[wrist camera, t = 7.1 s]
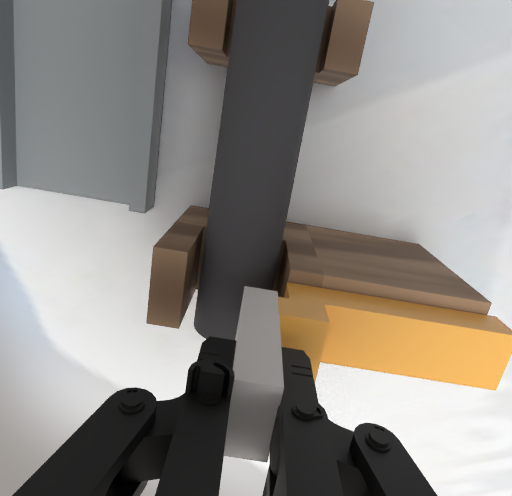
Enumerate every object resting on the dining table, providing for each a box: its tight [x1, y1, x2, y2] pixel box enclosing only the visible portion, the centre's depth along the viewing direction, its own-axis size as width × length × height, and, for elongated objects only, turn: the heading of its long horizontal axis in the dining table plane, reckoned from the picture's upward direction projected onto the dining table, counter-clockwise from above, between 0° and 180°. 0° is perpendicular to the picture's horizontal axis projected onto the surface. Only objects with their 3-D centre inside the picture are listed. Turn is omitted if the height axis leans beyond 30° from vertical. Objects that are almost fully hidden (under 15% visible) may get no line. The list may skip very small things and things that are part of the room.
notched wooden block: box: [147, 206, 491, 329], centre depth 23 cm, size 4×16×9 cm, turn 80°
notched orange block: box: [278, 282, 512, 390], centre depth 17 cm, size 3×10×3 cm, turn 80°
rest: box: [188, 0, 374, 86], centre depth 21 cm, size 3×8×6 cm, turn 80°
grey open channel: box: [0, 0, 172, 213], centre depth 23 cm, size 21×10×2 cm, turn 170°
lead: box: [194, 0, 329, 340], centre depth 20 cm, size 19×4×4 cm, turn 170°
